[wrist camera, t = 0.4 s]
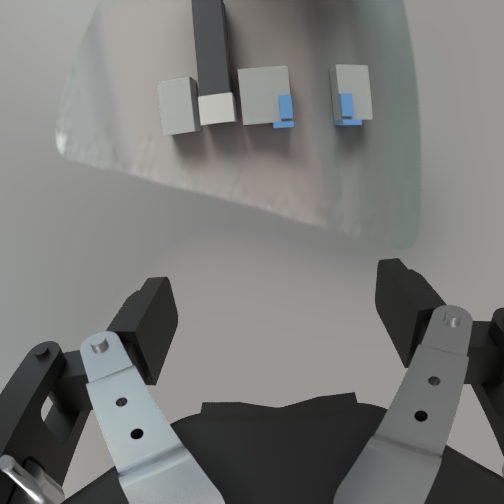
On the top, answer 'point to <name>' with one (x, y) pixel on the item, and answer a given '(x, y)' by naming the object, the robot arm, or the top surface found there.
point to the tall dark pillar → (213, 63)
